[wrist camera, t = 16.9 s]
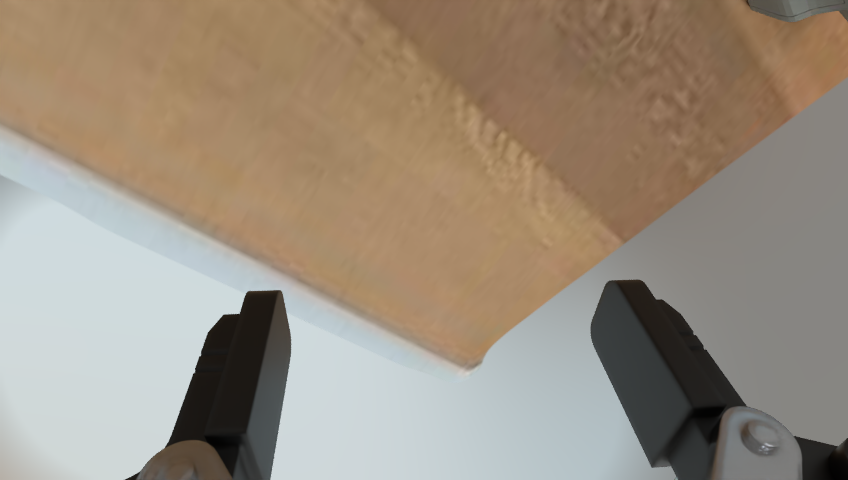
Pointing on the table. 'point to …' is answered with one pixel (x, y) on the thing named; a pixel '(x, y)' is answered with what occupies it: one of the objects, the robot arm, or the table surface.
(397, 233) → the table surface
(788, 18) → the digital clock
